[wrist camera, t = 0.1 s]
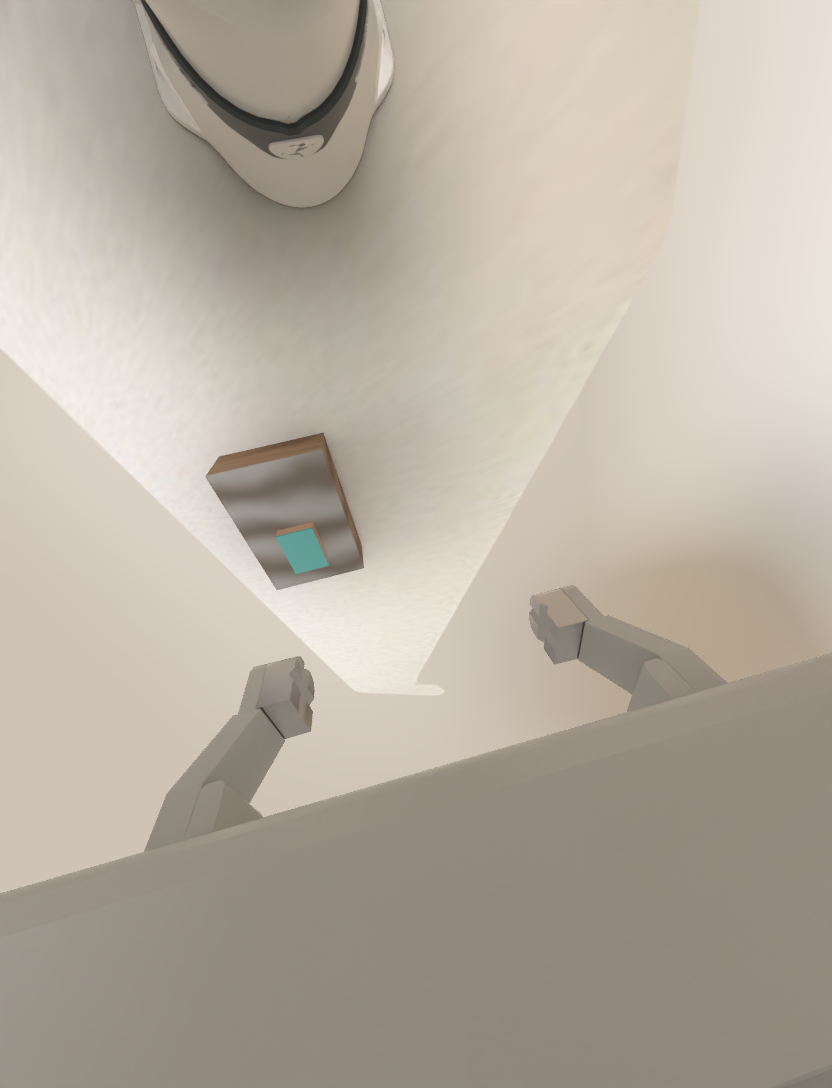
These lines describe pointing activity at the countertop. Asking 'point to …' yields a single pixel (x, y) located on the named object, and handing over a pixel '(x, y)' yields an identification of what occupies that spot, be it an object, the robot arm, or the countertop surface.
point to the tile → (303, 547)
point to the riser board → (288, 505)
